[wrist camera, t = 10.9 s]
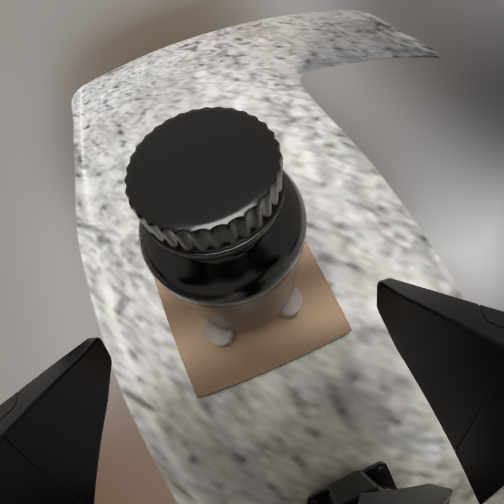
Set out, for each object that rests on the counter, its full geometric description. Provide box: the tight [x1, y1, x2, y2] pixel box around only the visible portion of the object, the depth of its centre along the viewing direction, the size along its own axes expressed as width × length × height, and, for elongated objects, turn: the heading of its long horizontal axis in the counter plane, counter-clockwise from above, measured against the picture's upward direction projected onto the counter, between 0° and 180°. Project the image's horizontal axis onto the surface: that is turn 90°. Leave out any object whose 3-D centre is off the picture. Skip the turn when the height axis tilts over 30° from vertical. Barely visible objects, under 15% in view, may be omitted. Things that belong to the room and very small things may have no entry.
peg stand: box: [154, 242, 352, 398], centre depth 21 cm, size 12×12×4 cm
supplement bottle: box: [124, 107, 307, 331], centre depth 14 cm, size 7×7×12 cm
